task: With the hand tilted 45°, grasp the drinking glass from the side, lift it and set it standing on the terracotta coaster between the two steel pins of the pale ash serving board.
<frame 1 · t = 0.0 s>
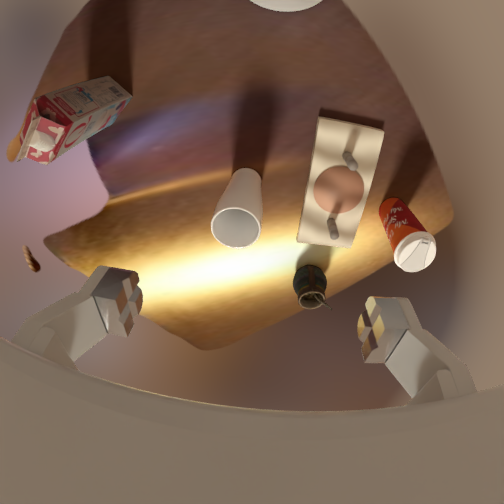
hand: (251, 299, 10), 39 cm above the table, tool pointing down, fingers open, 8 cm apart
paper cup: (391, 209, 49), on the table
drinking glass: (246, 180, 49), on the table
mate gourd: (309, 272, 61), on the table
pin board: (337, 186, 48), on the table
juice carton: (110, 99, 39), on the table
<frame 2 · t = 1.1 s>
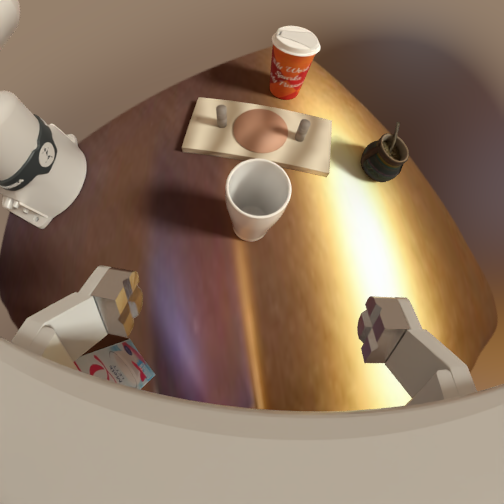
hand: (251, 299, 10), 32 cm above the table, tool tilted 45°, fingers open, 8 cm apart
paper cup: (284, 90, 47), on the table
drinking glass: (250, 225, 43), on the table
mate gourd: (373, 167, 46), on the table
pin board: (259, 135, 45), on the table
juice carton: (127, 367, 38), on the table
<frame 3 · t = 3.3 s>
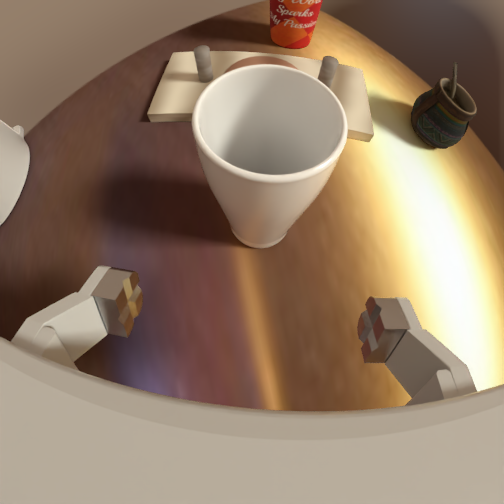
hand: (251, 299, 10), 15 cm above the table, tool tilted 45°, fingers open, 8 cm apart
paper cup: (290, 39, 31), on the table
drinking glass: (259, 221, 25), on the table
mate gourd: (426, 131, 28), on the table
pin board: (263, 89, 28), on the table
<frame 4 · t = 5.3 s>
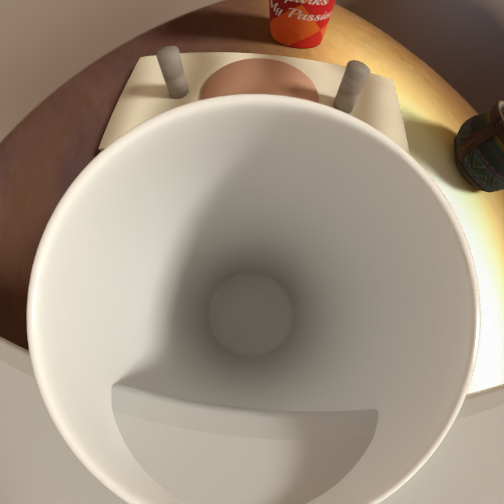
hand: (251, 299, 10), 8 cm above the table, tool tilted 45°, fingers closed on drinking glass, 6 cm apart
paper cup: (296, 36, 23), on the table
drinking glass: (250, 314, 18), on the table, touching gripper
mate gourd: (469, 165, 20), on the table
pin board: (259, 106, 21), on the table
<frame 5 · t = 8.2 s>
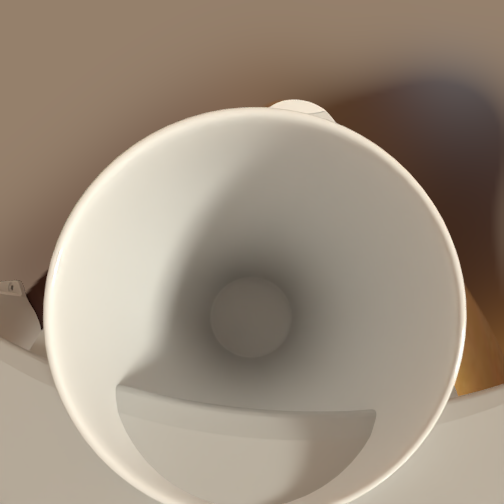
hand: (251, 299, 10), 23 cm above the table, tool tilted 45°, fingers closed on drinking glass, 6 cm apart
paper cup: (284, 194, 35), on the table
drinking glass: (251, 317, 18), point 14 cm above the table, touching gripper
when the fingers open (11 cm above the table, at t = 11.4 s): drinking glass stays where it is, resting on pin board.
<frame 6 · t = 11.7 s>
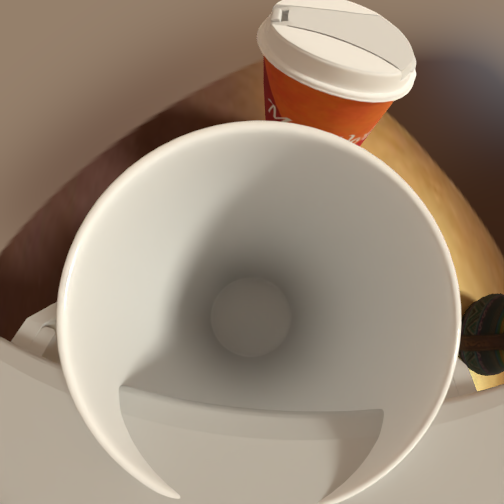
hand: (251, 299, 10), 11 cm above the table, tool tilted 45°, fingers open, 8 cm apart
paper cup: (301, 167, 23), on the table
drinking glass: (250, 316, 18), point 2 cm above the table, touching pin board
mate gourd: (470, 332, 20), on the table
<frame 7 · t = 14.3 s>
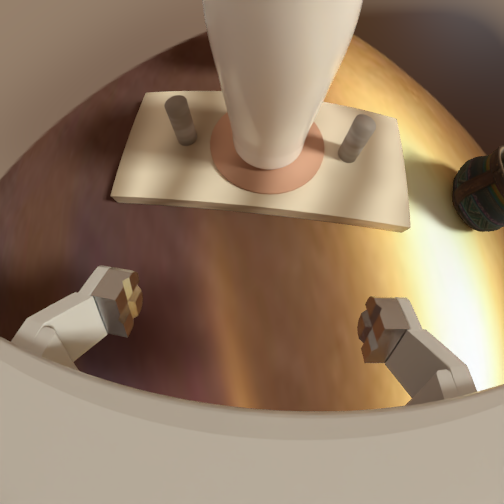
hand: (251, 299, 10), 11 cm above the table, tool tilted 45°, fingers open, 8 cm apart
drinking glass: (267, 144, 21), point 2 cm above the table, touching pin board
mate gourd: (466, 203, 22), on the table
pin board: (266, 152, 23), on the table
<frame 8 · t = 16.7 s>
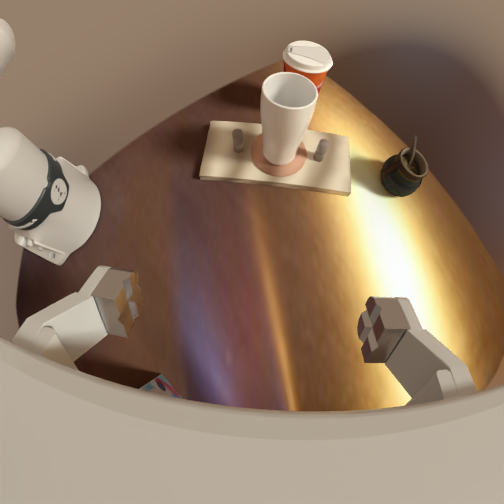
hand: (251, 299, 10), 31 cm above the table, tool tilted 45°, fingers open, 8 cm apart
paper cup: (297, 107, 48), on the table
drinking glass: (278, 153, 43), point 2 cm above the table, touching pin board
mate gourd: (392, 181, 45), on the table
pin board: (277, 157, 45), on the table
juice carton: (160, 401, 37), on the table
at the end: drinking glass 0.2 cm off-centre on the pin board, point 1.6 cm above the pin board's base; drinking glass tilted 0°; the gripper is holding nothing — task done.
